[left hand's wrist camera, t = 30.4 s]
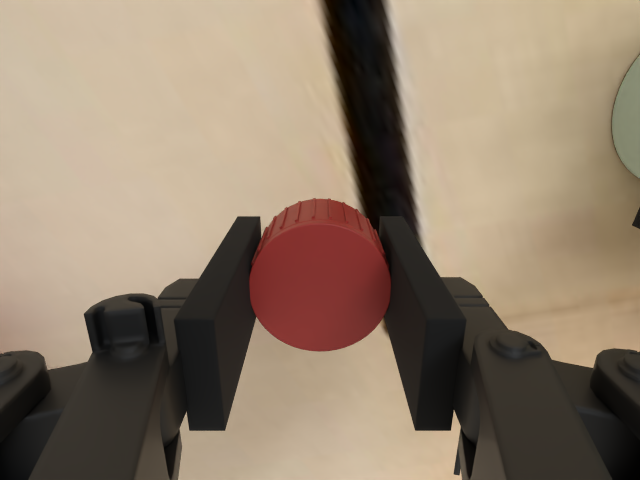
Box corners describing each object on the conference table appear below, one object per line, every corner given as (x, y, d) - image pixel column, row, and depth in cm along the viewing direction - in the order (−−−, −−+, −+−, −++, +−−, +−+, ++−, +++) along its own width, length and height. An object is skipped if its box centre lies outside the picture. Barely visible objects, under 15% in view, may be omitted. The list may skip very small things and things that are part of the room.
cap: (265, 188, 13) (252, 211, 11) (392, 206, 14) (408, 232, 11) (253, 301, 15) (240, 344, 12) (369, 316, 15) (378, 361, 13)
